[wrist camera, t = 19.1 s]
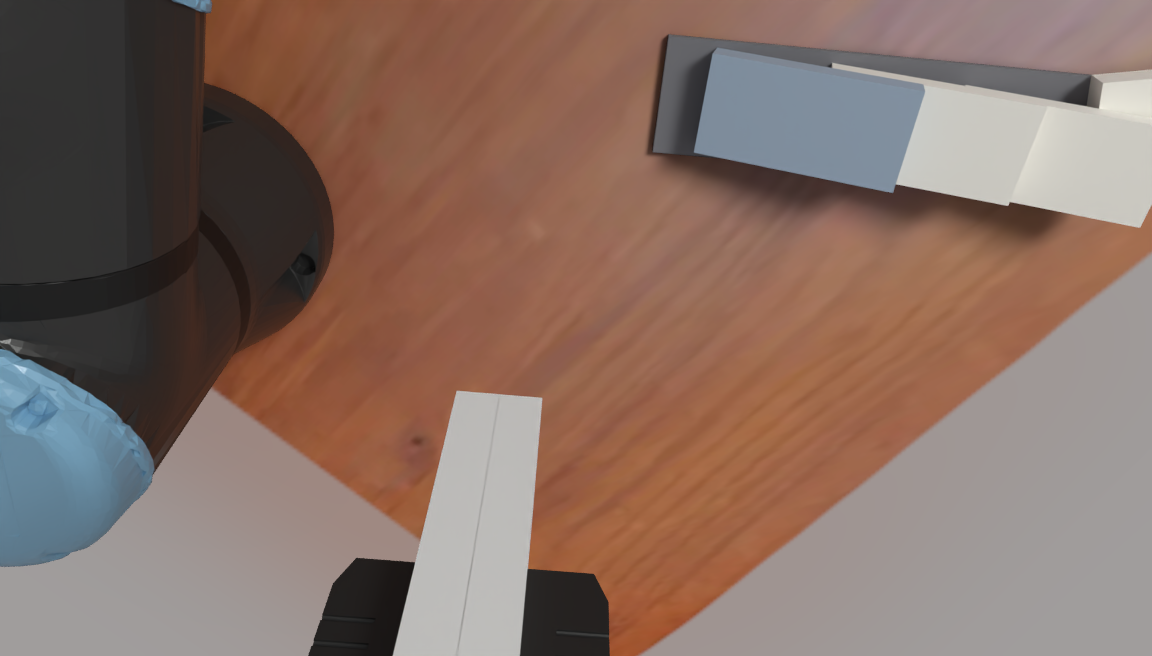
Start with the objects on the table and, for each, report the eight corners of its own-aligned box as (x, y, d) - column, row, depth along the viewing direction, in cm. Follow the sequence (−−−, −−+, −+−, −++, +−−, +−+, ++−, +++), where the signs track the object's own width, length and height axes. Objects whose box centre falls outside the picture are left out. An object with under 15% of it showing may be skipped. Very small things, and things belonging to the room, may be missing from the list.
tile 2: (806, 166, 44) (1008, 205, 43) (832, 69, 42) (1047, 106, 40) (807, 157, 46) (1002, 195, 44) (832, 62, 43) (1040, 98, 42)
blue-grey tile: (693, 152, 44) (892, 193, 42) (712, 53, 41) (925, 91, 40) (698, 144, 45) (892, 183, 43) (717, 47, 43) (923, 84, 41)
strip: (652, 149, 46) (652, 152, 46) (668, 34, 43) (668, 36, 43) (1125, 193, 47) (1129, 195, 46) (1173, 82, 44) (1177, 84, 43)
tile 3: (935, 187, 45) (1139, 227, 43) (969, 92, 42) (1187, 131, 41) (932, 177, 46) (1130, 216, 44) (965, 84, 44) (1176, 122, 42)
